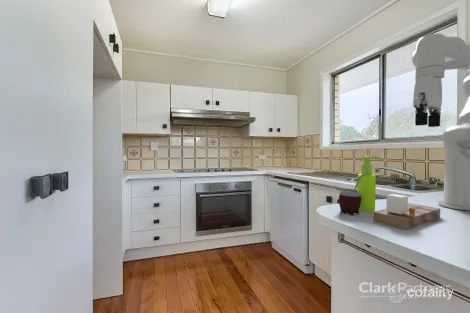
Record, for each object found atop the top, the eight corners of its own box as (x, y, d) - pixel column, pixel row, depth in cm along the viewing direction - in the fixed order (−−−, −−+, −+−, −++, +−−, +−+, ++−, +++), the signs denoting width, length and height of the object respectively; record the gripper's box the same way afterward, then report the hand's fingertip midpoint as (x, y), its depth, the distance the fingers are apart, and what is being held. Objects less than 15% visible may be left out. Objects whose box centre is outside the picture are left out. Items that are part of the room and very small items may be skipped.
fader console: (408, 211, 86) (409, 196, 85) (440, 217, 78) (440, 201, 78) (373, 221, 74) (373, 203, 73) (406, 230, 66) (406, 210, 66)
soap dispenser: (380, 212, 83) (382, 156, 83) (359, 211, 85) (360, 155, 84) (374, 208, 89) (375, 155, 88) (354, 207, 90) (355, 155, 90)
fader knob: (393, 209, 75) (393, 193, 75) (407, 212, 71) (408, 196, 71) (386, 211, 73) (386, 195, 72) (400, 214, 69) (401, 197, 69)
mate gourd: (336, 210, 87) (337, 169, 86) (359, 211, 86) (360, 169, 85) (342, 215, 80) (343, 171, 79) (367, 217, 78) (368, 171, 78)
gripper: (427, 81, 87) (425, 127, 87) (404, 73, 78) (402, 125, 79) (454, 75, 80) (452, 126, 81) (432, 66, 71) (430, 123, 72)
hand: (427, 125), depth 80 cm, fingers open, 9 cm apart
